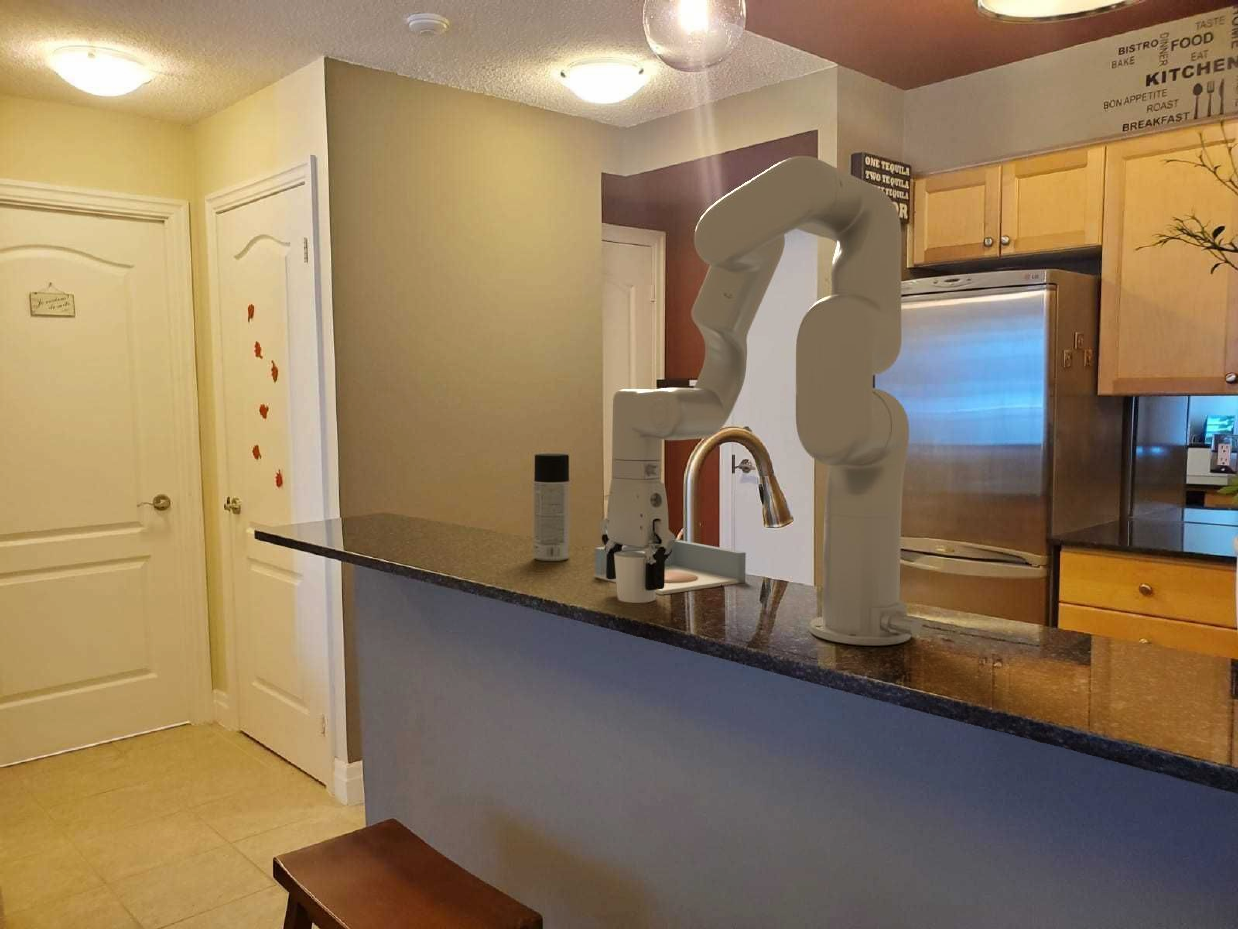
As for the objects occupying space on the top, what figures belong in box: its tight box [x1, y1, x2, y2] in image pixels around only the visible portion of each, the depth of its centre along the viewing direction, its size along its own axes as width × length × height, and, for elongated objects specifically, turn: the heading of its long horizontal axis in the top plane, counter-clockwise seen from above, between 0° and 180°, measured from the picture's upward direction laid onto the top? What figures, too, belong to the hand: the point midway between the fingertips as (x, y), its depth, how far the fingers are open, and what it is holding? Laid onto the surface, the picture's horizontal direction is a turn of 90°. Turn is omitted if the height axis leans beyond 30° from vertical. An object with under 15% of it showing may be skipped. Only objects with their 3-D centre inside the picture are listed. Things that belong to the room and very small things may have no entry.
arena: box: [594, 538, 747, 596], centre depth 154 cm, size 18×18×5 cm
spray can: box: [533, 453, 570, 562], centre depth 174 cm, size 7×7×20 cm
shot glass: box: [614, 550, 656, 604], centre depth 139 cm, size 7×7×7 cm
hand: (634, 583), depth 139 cm, fingers open, 9 cm apart
